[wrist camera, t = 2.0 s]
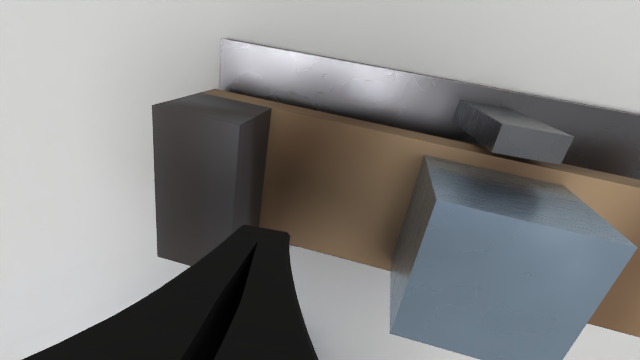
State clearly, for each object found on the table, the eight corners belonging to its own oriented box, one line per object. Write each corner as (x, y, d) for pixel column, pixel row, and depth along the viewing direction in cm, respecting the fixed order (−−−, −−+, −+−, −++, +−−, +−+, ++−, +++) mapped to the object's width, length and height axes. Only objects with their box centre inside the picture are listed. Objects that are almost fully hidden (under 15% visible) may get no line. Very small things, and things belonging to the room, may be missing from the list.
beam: (853, 225, 12) (1073, 313, 8) (738, 345, 14) (864, 457, 10) (215, 88, 15) (151, 105, 11) (210, 208, 17) (157, 256, 13)
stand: (741, 133, 15) (909, 175, 11) (625, 297, 19) (712, 379, 15) (225, 38, 15) (175, 41, 11) (216, 226, 19) (176, 286, 15)
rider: (509, 292, 14) (549, 379, 10) (390, 261, 15) (389, 333, 11) (564, 185, 12) (637, 247, 8) (424, 154, 13) (436, 199, 9)
